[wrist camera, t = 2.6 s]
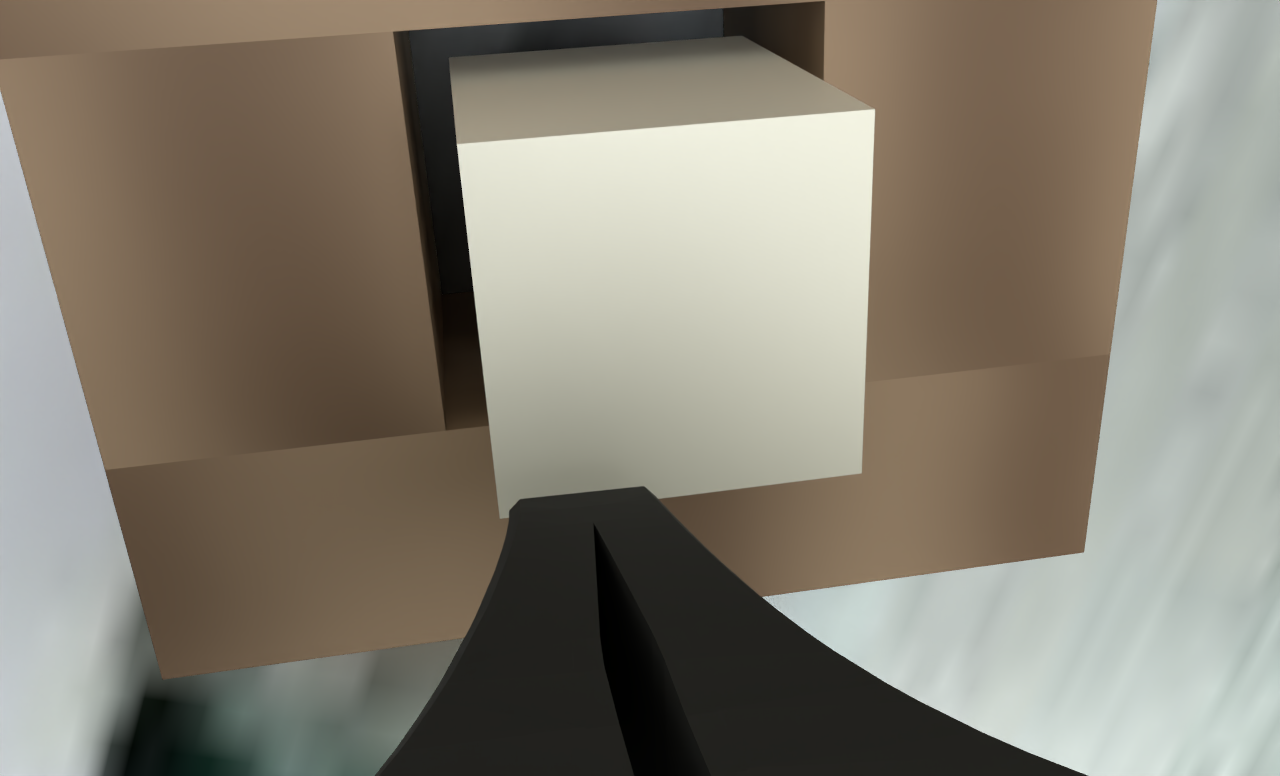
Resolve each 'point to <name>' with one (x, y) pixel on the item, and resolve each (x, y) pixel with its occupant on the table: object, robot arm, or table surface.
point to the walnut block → (447, 323)
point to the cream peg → (665, 266)
